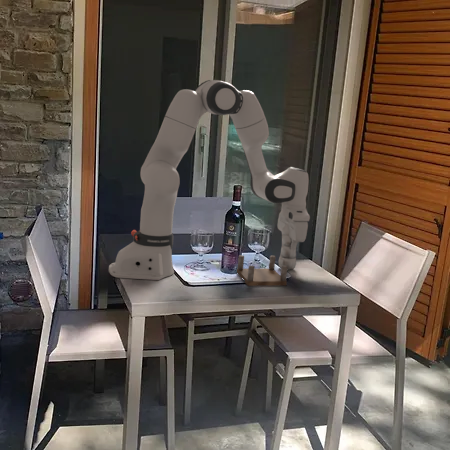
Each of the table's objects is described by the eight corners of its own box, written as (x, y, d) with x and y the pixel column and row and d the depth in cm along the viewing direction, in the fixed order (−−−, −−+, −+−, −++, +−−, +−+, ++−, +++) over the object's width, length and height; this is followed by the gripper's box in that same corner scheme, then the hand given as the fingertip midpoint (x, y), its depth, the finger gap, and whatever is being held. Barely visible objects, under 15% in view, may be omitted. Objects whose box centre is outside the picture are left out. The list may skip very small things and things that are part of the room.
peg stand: (247, 285, 195) (249, 267, 193) (236, 272, 208) (238, 255, 206) (286, 285, 199) (288, 267, 197) (272, 272, 212) (274, 255, 210)
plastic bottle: (294, 272, 214) (301, 220, 209) (276, 270, 215) (282, 218, 210) (296, 267, 220) (302, 217, 215) (278, 265, 221) (284, 214, 216)
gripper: (275, 205, 221) (271, 239, 224) (295, 217, 202) (290, 254, 205) (290, 205, 223) (286, 239, 226) (311, 217, 204) (307, 255, 207)
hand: (288, 247), depth 215 cm, fingers closed on plastic bottle, 6 cm apart
